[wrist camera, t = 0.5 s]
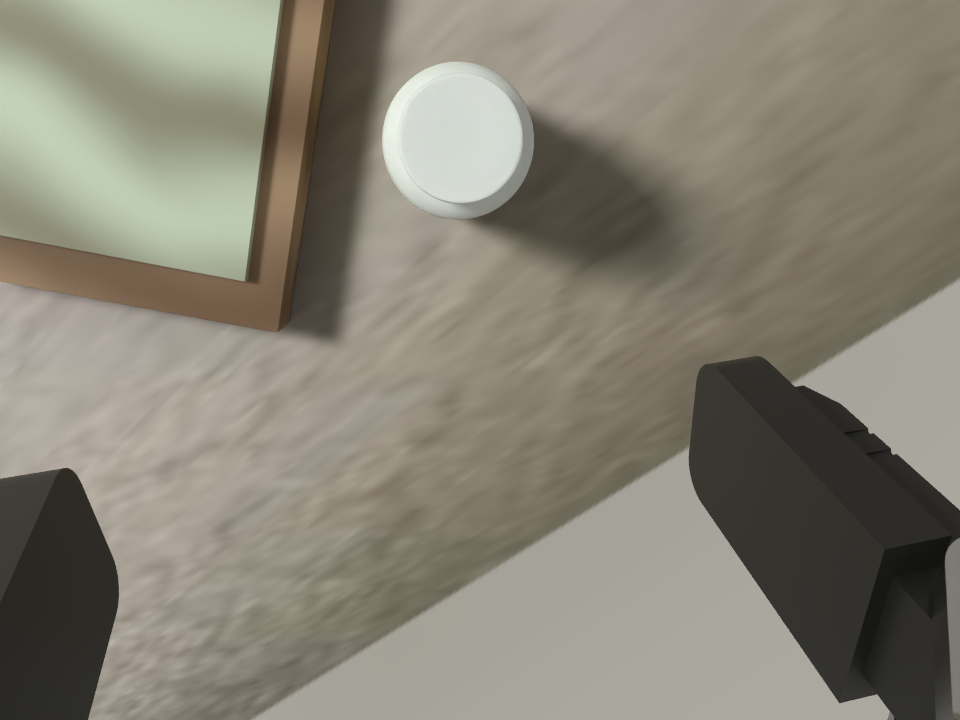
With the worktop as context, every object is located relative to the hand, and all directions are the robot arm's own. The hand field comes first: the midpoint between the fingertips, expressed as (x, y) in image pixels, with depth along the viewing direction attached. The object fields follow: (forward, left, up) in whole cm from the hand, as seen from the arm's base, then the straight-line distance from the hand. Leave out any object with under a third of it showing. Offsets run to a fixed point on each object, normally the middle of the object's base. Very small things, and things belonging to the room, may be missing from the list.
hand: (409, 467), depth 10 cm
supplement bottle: (-5, 0, -25) cm, 26 cm away
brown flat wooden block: (-5, -13, -25) cm, 29 cm away
